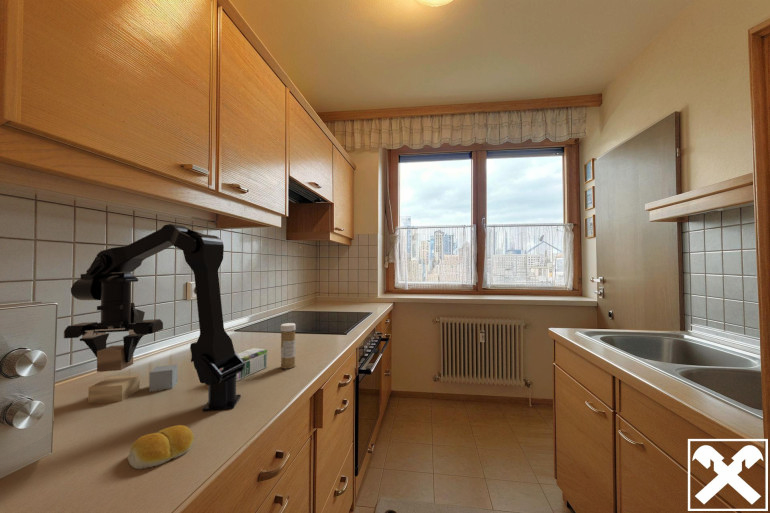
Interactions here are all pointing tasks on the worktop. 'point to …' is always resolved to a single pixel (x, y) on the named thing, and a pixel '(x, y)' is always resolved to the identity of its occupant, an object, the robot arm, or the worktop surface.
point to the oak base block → (113, 389)
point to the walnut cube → (112, 359)
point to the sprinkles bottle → (288, 345)
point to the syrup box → (252, 362)
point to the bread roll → (160, 447)
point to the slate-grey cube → (163, 377)
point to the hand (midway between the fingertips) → (115, 362)
